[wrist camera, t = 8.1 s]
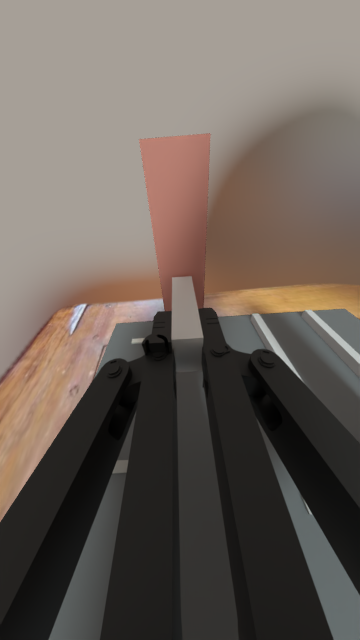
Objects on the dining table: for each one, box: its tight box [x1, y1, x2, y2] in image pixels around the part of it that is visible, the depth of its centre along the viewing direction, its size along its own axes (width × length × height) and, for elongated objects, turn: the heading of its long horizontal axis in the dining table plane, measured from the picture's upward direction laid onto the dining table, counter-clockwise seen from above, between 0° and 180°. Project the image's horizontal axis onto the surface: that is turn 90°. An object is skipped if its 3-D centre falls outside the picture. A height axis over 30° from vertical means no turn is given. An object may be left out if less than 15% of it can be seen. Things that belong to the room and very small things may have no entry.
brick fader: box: [139, 133, 210, 311], centre depth 14 cm, size 5×4×15 cm
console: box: [48, 309, 360, 640], centre depth 14 cm, size 30×21×2 cm
